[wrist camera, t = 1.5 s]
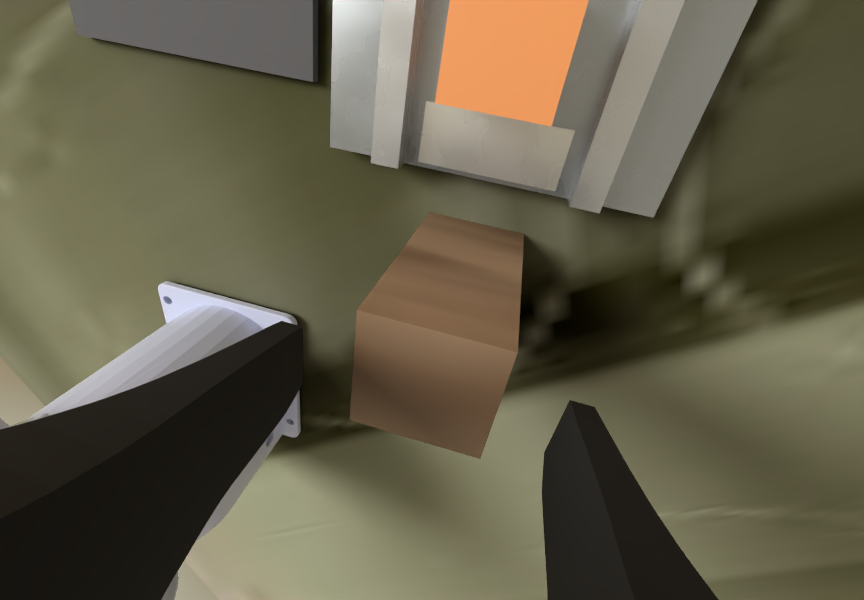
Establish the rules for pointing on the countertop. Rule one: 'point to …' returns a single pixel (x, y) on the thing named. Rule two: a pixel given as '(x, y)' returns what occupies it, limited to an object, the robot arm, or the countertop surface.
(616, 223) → the countertop surface
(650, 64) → the grey tray
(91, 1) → the rubber mat
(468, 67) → the orange cube
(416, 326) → the block
